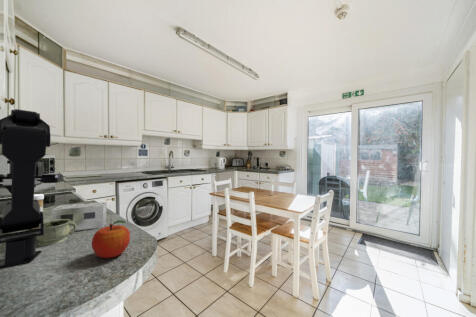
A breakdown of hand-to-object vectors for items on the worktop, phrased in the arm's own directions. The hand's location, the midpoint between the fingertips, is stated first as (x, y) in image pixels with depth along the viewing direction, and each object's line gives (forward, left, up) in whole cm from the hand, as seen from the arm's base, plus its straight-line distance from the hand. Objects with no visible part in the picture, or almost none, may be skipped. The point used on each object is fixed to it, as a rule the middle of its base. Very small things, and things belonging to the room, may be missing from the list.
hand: (21, 205), depth 61 cm
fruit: (-19, -27, -13) cm, 36 cm away
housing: (+13, -12, -13) cm, 22 cm away
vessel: (+1, -8, -13) cm, 15 cm away
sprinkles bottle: (+20, +4, -13) cm, 24 cm away
